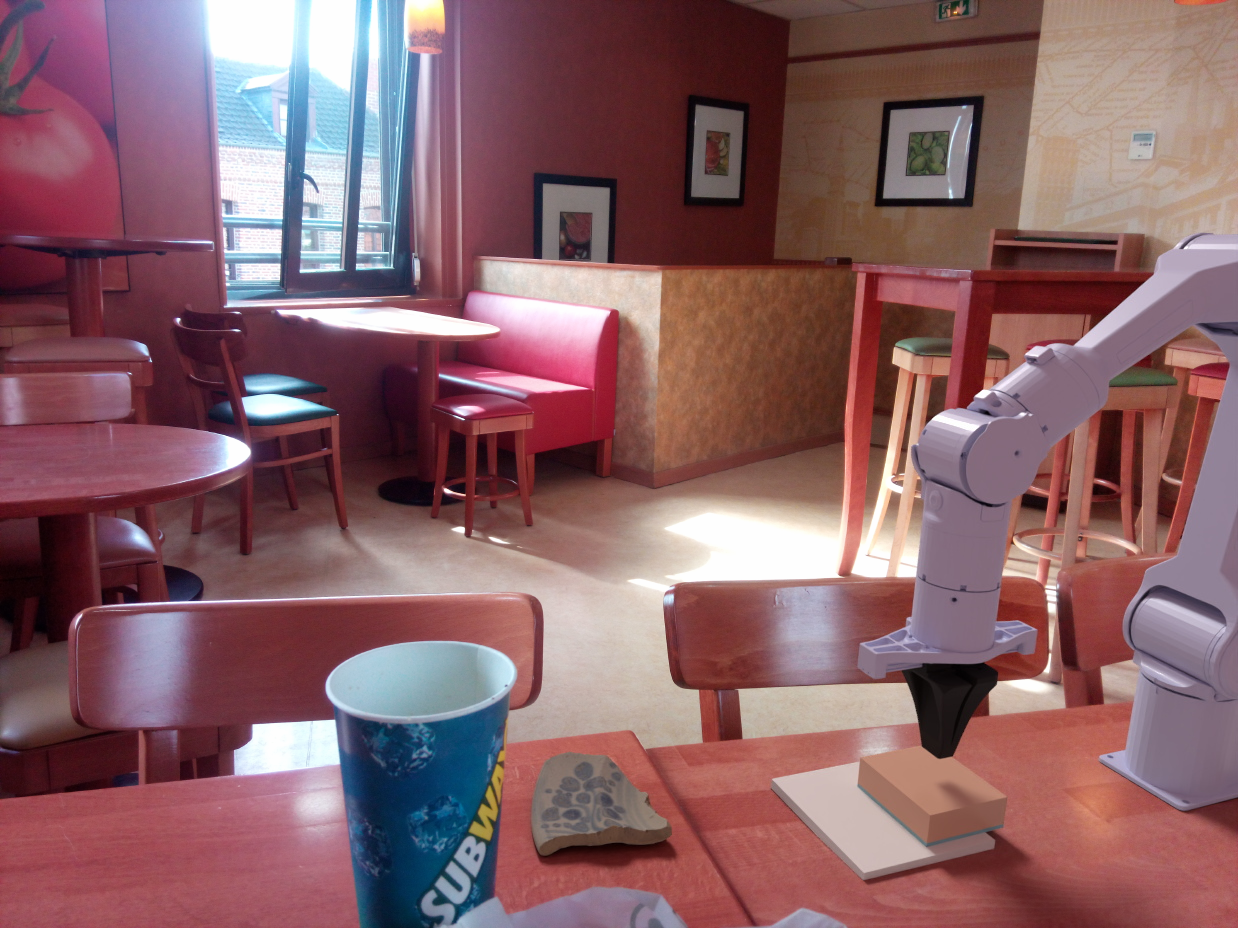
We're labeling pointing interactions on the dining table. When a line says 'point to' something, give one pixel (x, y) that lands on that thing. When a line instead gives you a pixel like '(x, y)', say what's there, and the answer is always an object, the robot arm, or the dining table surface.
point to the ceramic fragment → (590, 805)
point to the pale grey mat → (863, 824)
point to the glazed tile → (931, 795)
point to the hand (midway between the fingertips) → (937, 751)
